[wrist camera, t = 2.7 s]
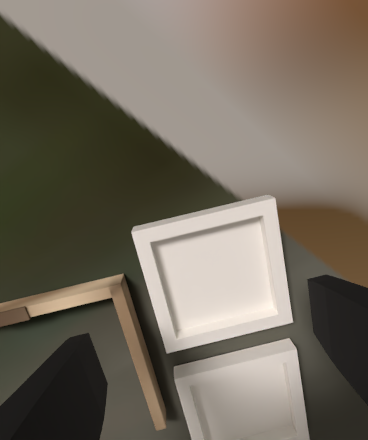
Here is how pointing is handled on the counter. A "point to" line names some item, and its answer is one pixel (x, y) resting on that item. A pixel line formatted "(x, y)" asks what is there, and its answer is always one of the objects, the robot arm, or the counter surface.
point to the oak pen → (126, 312)
